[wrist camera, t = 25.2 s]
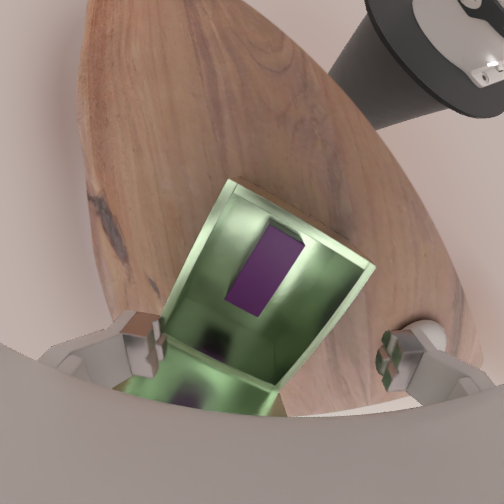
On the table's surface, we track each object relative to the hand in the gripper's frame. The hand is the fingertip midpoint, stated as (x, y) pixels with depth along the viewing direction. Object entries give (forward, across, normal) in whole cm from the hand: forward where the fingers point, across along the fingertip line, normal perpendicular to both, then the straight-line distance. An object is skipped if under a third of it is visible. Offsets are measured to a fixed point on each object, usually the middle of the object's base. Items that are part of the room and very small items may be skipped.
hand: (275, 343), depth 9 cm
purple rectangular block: (+20, +1, +4) cm, 21 cm away
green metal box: (+21, +1, +5) cm, 22 cm away
